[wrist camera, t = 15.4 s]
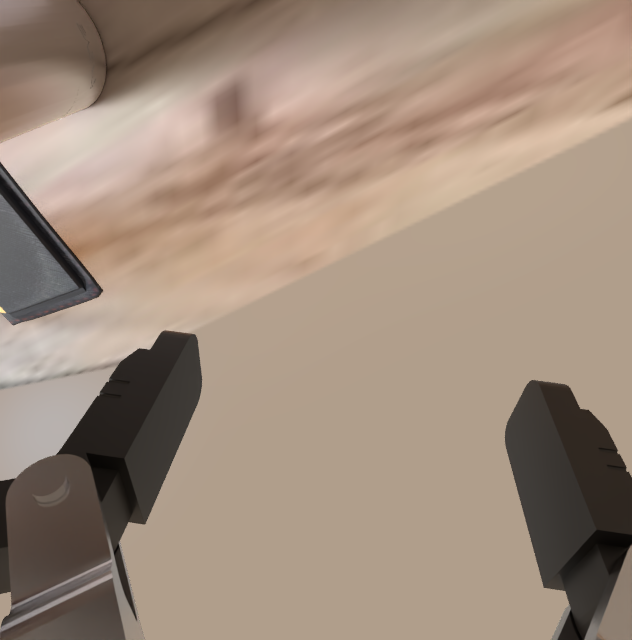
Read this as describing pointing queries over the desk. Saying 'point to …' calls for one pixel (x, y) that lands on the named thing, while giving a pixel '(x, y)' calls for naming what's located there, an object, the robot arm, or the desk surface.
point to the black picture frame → (35, 261)
